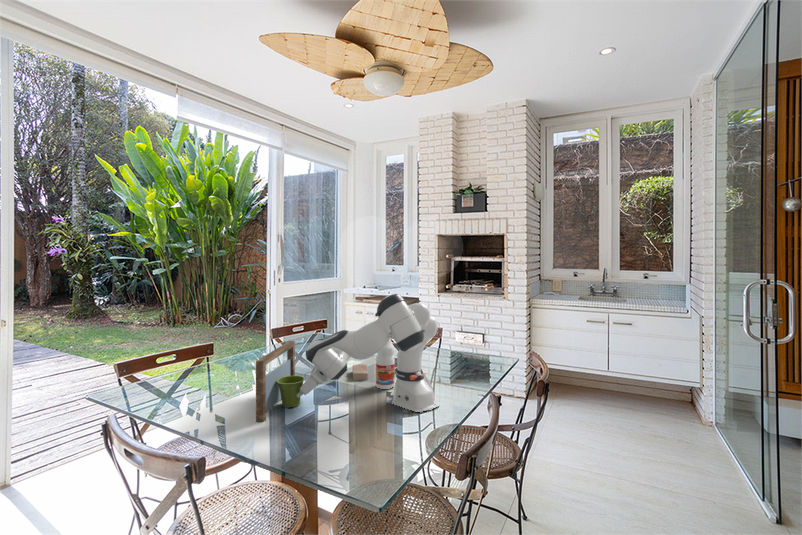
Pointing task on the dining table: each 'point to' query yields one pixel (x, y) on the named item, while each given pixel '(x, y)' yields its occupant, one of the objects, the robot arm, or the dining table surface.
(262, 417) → the door frame
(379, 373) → the fruit juice
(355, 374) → the brick
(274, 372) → the door
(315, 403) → the dining table surface
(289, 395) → the plant pot
